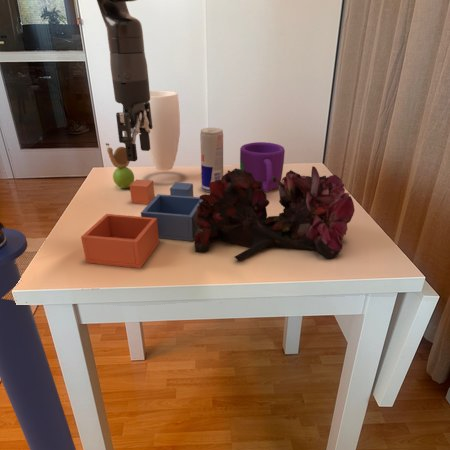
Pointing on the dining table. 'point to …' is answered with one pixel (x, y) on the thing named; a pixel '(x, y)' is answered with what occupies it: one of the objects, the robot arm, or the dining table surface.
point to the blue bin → (174, 216)
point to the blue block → (182, 189)
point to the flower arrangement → (275, 225)
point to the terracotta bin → (121, 240)
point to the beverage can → (211, 156)
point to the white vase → (164, 128)
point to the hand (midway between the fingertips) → (139, 155)
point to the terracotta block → (142, 191)
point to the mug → (263, 162)
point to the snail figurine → (121, 167)
